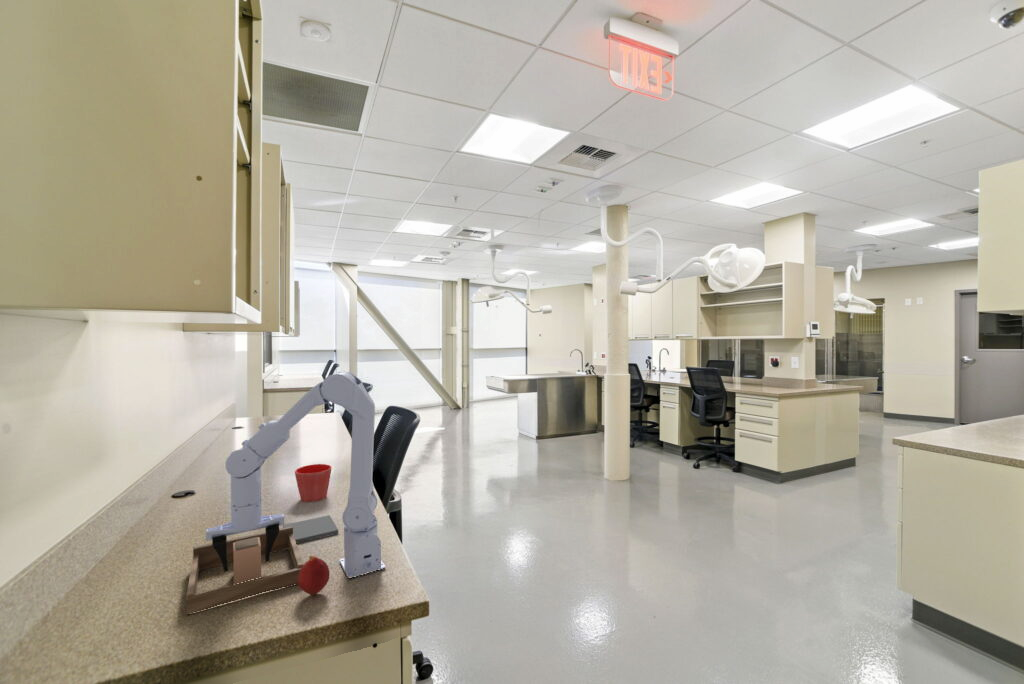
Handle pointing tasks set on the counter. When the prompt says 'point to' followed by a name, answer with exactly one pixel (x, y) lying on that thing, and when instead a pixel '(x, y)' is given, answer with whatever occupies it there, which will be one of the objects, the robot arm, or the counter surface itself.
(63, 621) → the counter surface
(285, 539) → the open wooden frame
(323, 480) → the flower pot
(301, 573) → the onion
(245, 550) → the upright tan block
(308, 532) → the rubber mat
